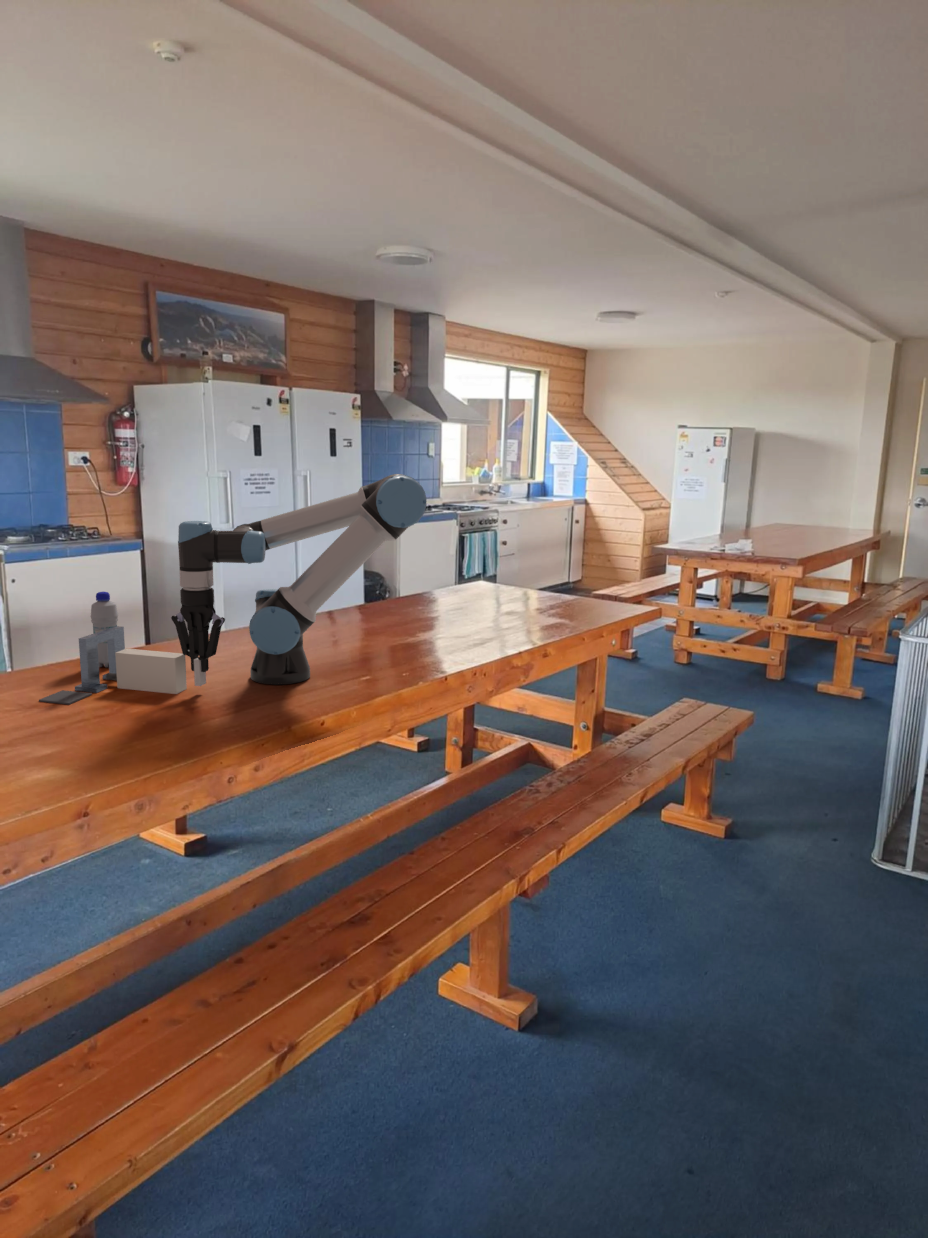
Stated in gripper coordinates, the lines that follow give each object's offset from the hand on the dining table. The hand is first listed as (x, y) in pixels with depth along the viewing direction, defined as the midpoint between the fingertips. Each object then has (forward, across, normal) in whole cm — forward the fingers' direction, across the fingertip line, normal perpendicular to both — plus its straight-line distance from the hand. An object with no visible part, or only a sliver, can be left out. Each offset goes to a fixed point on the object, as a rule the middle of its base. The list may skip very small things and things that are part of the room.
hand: (200, 684), depth 201 cm
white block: (+2, +15, 0) cm, 15 cm away
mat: (+2, +27, +13) cm, 30 cm away
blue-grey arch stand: (+2, +26, 0) cm, 26 cm away
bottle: (+3, +36, -15) cm, 39 cm away
